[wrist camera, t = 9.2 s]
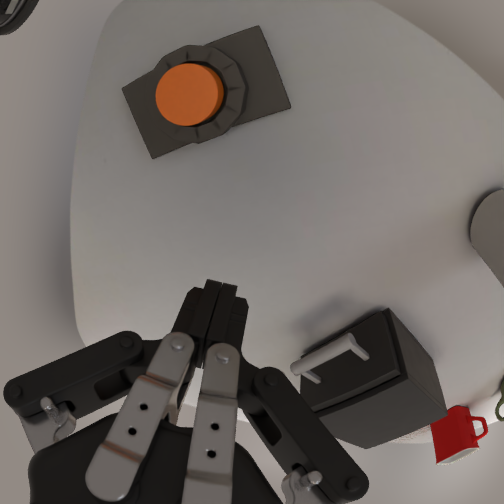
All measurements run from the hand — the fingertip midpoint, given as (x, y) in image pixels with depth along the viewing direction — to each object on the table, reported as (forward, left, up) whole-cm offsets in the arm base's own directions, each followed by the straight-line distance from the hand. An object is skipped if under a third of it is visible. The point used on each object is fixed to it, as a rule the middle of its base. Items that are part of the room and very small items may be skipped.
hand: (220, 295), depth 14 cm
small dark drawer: (+6, -22, -12) cm, 26 cm away
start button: (0, +10, -10) cm, 14 cm away
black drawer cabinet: (+8, -25, -13) cm, 29 cm away
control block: (0, +10, -13) cm, 16 cm away
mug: (+27, -54, -13) cm, 62 cm away
